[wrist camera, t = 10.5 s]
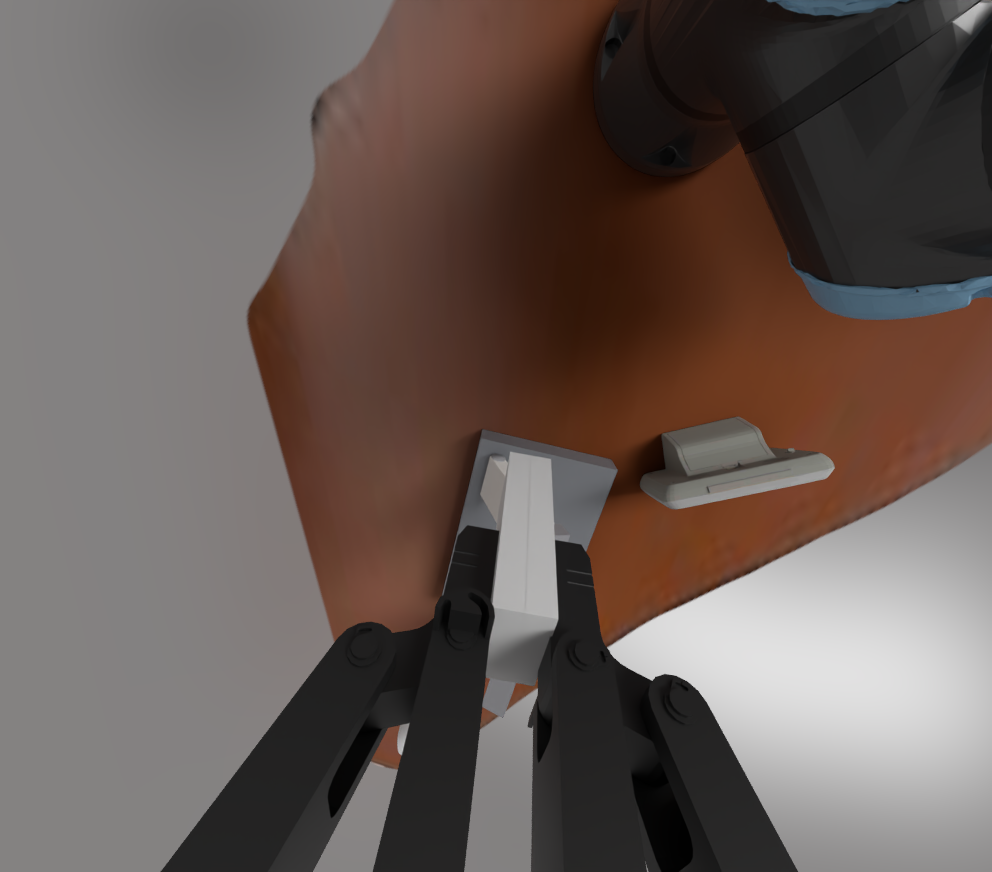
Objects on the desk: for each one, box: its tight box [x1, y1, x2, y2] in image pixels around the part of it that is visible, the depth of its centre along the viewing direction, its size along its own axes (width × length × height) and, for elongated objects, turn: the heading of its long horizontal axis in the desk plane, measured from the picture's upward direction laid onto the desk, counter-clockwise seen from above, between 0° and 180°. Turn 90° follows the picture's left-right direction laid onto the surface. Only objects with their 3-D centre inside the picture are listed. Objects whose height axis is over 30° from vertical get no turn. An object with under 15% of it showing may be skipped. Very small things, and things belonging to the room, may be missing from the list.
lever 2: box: [480, 454, 570, 542], centre depth 40 cm, size 2×5×15 cm, turn 167°
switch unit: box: [442, 429, 618, 595], centre depth 51 cm, size 16×24×3 cm, turn 166°
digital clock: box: [640, 417, 835, 509], centre depth 44 cm, size 16×9×11 cm, turn 93°
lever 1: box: [482, 678, 516, 718], centre depth 46 cm, size 2×5×15 cm, turn 165°
